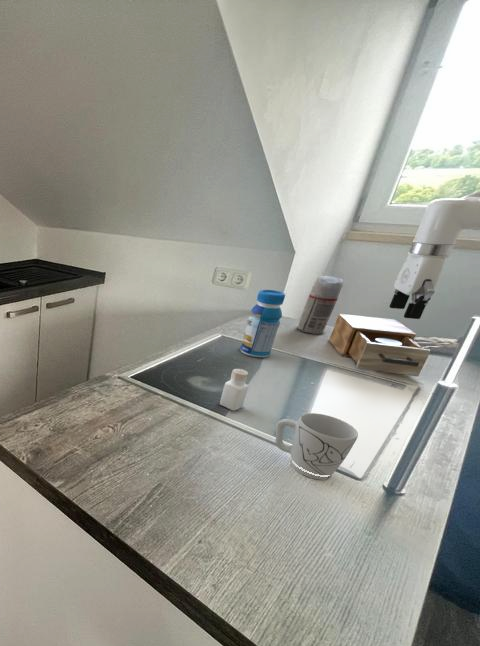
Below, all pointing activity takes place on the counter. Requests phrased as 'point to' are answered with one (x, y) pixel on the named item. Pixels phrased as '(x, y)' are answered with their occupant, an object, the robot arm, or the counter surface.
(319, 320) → the spray can
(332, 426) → the mug
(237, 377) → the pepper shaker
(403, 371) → the drawer
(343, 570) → the counter surface
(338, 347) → the cabinet
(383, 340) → the tin can
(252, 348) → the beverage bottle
